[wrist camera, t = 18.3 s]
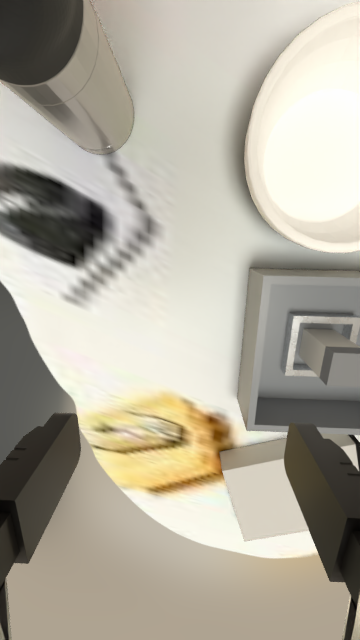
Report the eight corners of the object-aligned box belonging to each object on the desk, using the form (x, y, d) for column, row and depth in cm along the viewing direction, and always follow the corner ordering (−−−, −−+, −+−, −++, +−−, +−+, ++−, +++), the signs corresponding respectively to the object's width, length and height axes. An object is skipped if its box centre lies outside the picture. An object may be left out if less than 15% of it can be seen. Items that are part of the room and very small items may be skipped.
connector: (303, 328, 41) (333, 352, 33) (333, 329, 41) (371, 354, 32) (298, 355, 42) (326, 385, 34) (327, 356, 42) (363, 387, 34)
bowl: (236, 256, 40) (248, 262, 32) (231, 68, 33) (244, 14, 25) (397, 242, 38) (453, 243, 30) (424, 42, 32) (504, -24, 24)
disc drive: (354, 496, 52) (371, 522, 48) (240, 517, 55) (244, 544, 50) (344, 422, 48) (361, 443, 43) (218, 448, 50) (221, 471, 45)
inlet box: (249, 268, 40) (263, 275, 32) (402, 271, 39) (453, 280, 32) (237, 398, 46) (246, 430, 39) (368, 403, 46) (404, 436, 38)
